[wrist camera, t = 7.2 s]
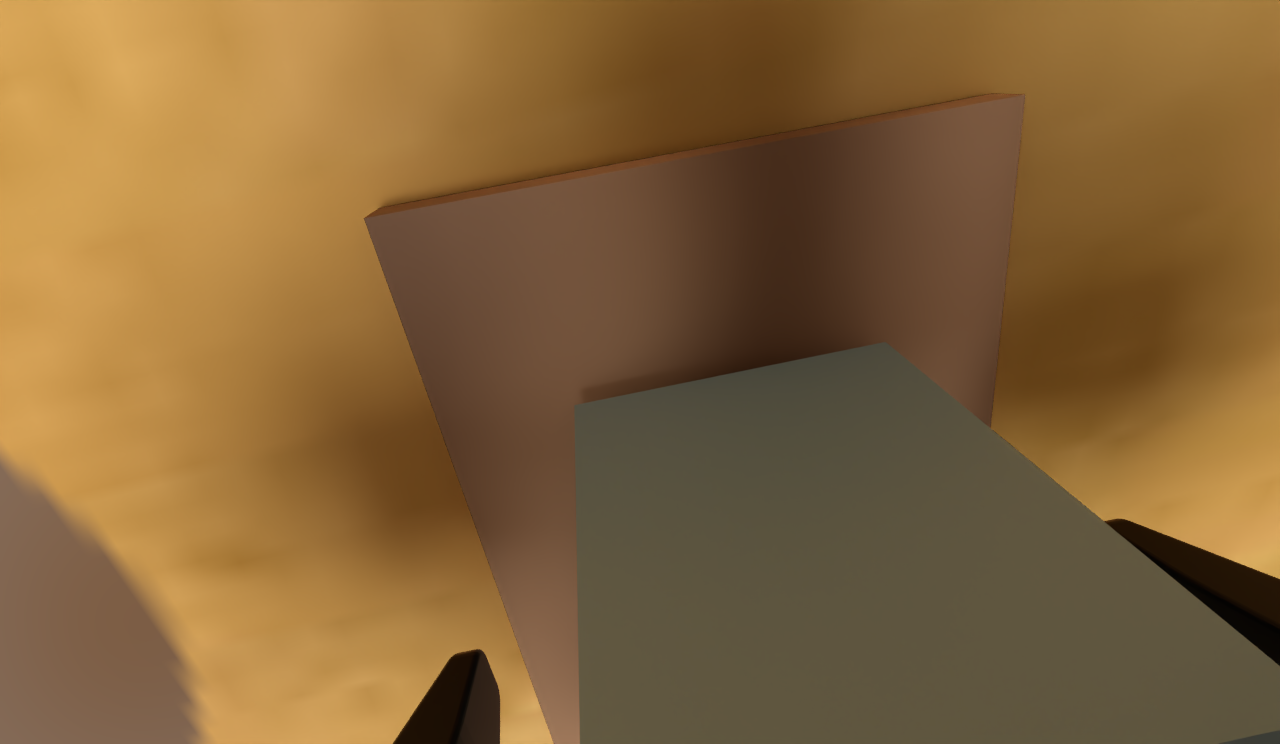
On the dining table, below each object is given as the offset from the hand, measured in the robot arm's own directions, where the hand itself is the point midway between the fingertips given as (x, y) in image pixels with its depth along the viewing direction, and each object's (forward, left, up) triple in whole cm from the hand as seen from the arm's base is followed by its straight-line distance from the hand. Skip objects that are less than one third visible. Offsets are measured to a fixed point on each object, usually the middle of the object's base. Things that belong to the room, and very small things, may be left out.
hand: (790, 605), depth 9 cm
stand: (0, +2, -4) cm, 4 cm away
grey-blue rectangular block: (0, 0, -2) cm, 2 cm away
